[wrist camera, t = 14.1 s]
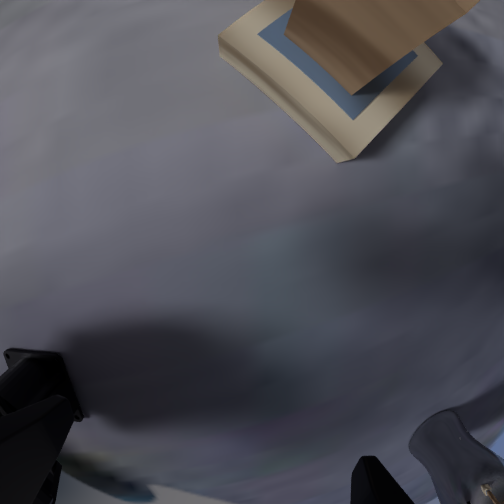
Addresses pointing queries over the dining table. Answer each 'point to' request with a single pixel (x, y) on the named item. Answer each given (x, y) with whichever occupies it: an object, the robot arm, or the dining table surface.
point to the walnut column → (367, 33)
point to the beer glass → (458, 462)
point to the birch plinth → (320, 81)
